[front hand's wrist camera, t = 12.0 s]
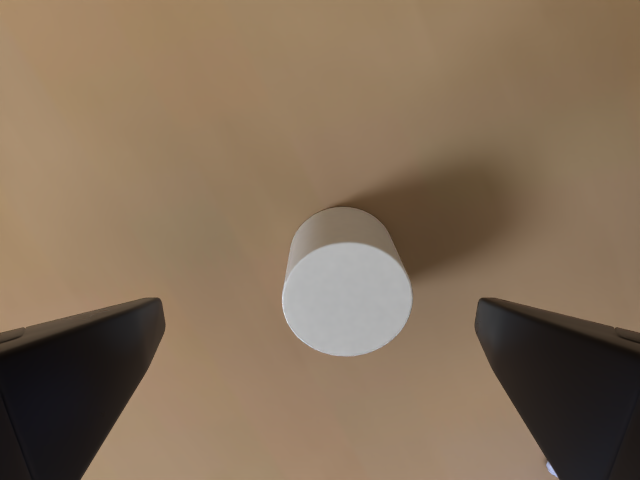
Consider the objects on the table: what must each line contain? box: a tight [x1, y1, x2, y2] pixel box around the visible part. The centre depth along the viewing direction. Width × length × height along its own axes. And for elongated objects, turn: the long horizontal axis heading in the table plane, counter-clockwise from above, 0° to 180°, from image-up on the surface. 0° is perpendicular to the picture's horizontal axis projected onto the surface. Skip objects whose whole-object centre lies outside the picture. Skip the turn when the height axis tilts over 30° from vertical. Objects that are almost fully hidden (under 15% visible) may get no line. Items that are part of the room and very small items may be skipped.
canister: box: [282, 207, 413, 356], centre depth 18 cm, size 5×5×4 cm
